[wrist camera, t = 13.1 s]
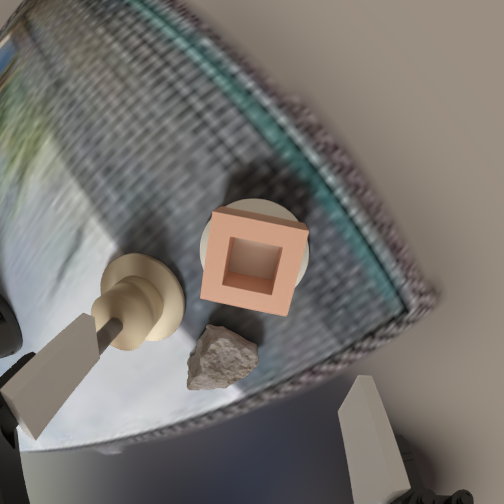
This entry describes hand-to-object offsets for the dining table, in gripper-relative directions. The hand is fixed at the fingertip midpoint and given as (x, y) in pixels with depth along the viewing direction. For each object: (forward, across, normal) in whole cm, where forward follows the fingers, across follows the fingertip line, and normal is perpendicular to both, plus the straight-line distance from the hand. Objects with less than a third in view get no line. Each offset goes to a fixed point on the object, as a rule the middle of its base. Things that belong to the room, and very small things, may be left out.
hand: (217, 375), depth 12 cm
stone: (+20, -2, -14) cm, 25 cm away
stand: (+20, -13, -9) cm, 25 cm away
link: (+19, 0, 0) cm, 19 cm away
